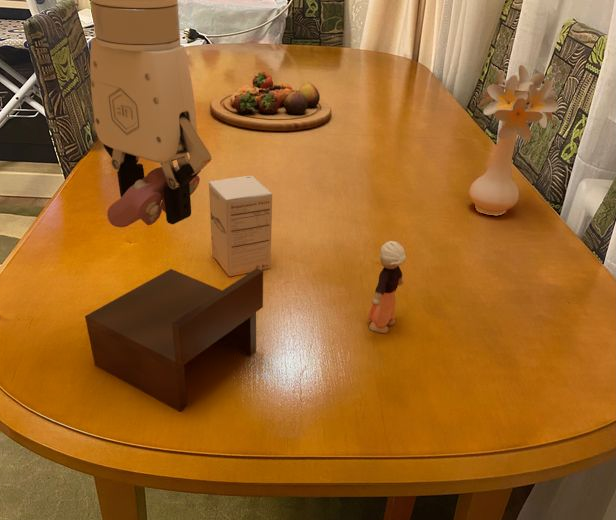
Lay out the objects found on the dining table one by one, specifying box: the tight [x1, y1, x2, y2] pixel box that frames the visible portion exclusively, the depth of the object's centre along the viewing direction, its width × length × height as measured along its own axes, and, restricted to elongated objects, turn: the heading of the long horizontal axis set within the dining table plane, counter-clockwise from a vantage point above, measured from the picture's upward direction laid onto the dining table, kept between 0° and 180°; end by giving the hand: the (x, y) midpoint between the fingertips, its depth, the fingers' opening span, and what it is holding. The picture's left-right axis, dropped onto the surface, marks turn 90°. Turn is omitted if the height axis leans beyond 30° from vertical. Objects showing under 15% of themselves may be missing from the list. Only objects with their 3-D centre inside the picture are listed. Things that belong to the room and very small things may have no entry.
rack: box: [84, 268, 264, 412], centre depth 72 cm, size 15×14×12 cm
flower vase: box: [468, 64, 559, 214], centre depth 109 cm, size 13×18×25 cm
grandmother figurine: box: [367, 240, 407, 334], centre depth 80 cm, size 8×4×13 cm, turn 159°
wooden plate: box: [209, 71, 332, 132], centre depth 158 cm, size 32×32×8 cm
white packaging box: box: [208, 175, 273, 277], centre depth 92 cm, size 7×7×13 cm
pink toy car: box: [106, 163, 201, 228], centre depth 65 cm, size 10×5×7 cm, turn 149°
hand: (156, 209), depth 66 cm, fingers closed on pink toy car, 5 cm apart
